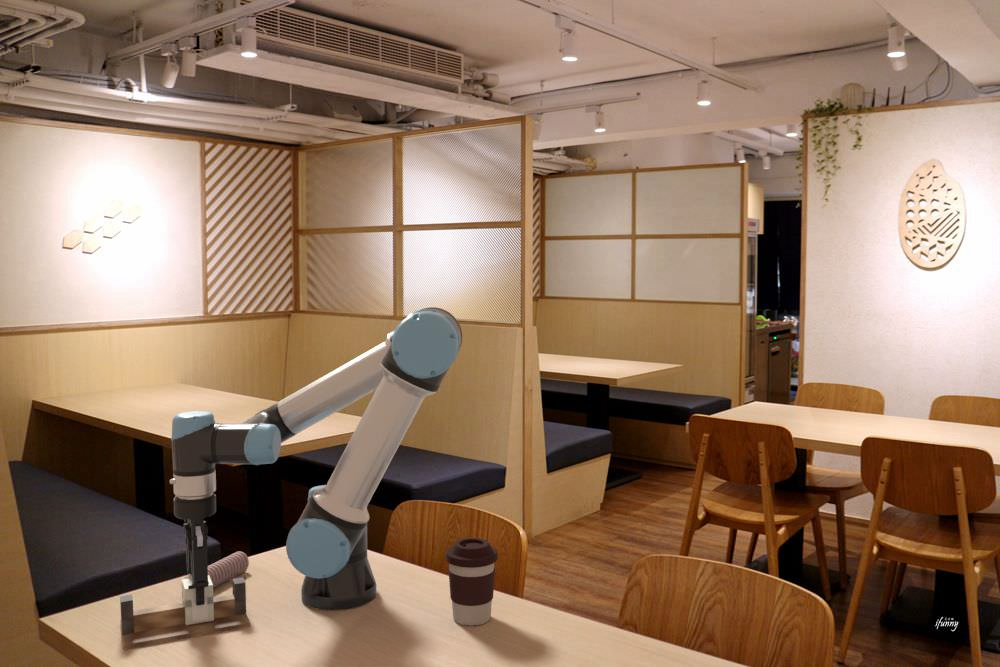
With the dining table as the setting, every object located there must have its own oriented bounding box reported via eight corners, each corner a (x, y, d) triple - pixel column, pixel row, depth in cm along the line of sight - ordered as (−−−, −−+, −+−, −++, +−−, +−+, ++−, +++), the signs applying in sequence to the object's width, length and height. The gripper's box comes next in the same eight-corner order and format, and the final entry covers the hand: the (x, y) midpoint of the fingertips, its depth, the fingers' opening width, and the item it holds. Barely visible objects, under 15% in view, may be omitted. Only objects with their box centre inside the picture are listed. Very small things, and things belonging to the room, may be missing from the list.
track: (239, 603, 173) (239, 569, 173) (250, 626, 163) (249, 590, 162) (120, 623, 164) (119, 588, 163) (123, 649, 153) (122, 611, 152)
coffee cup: (508, 618, 166) (508, 542, 165) (471, 634, 159) (471, 555, 158) (471, 604, 173) (471, 531, 172) (435, 619, 166) (435, 543, 165)
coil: (197, 580, 175) (252, 552, 191) (178, 575, 176) (235, 548, 193) (195, 602, 175) (251, 572, 192) (177, 597, 177) (233, 567, 194)
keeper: (209, 609, 168) (209, 575, 167) (214, 620, 163) (213, 584, 162) (182, 614, 165) (181, 579, 165) (186, 625, 160) (184, 589, 160)
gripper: (169, 484, 169) (172, 599, 171) (178, 509, 152) (182, 636, 154) (209, 480, 172) (212, 593, 174) (222, 504, 155) (225, 629, 157)
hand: (198, 613), depth 164 cm, fingers closed on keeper, 6 cm apart
